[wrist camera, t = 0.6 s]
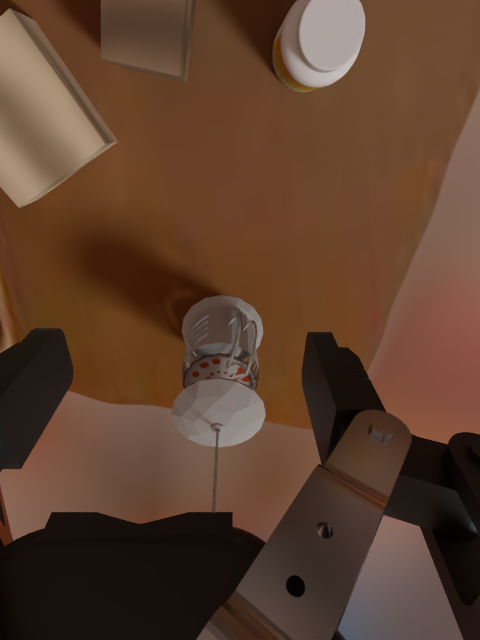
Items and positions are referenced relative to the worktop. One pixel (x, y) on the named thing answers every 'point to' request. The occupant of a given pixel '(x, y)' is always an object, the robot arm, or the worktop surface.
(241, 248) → the worktop surface
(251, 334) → the french press
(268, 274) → the worktop surface
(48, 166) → the pine block
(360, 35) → the supplement bottle
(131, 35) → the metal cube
